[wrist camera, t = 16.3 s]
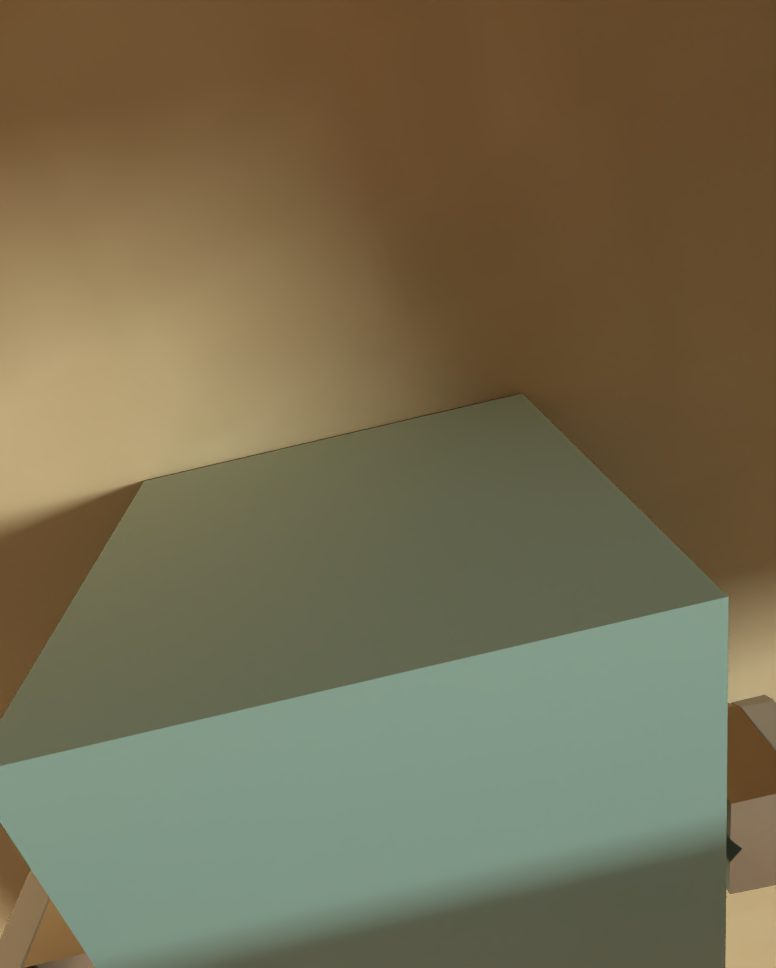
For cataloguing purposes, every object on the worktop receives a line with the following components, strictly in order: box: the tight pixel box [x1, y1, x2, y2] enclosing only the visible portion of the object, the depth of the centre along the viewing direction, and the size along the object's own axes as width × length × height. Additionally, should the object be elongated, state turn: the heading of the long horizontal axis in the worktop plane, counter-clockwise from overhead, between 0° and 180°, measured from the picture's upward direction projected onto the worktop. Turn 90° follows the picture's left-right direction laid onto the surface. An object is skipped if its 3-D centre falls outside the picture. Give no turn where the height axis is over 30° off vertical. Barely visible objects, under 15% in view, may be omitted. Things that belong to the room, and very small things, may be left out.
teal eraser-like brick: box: [0, 394, 729, 968], centre depth 11 cm, size 10×7×7 cm
